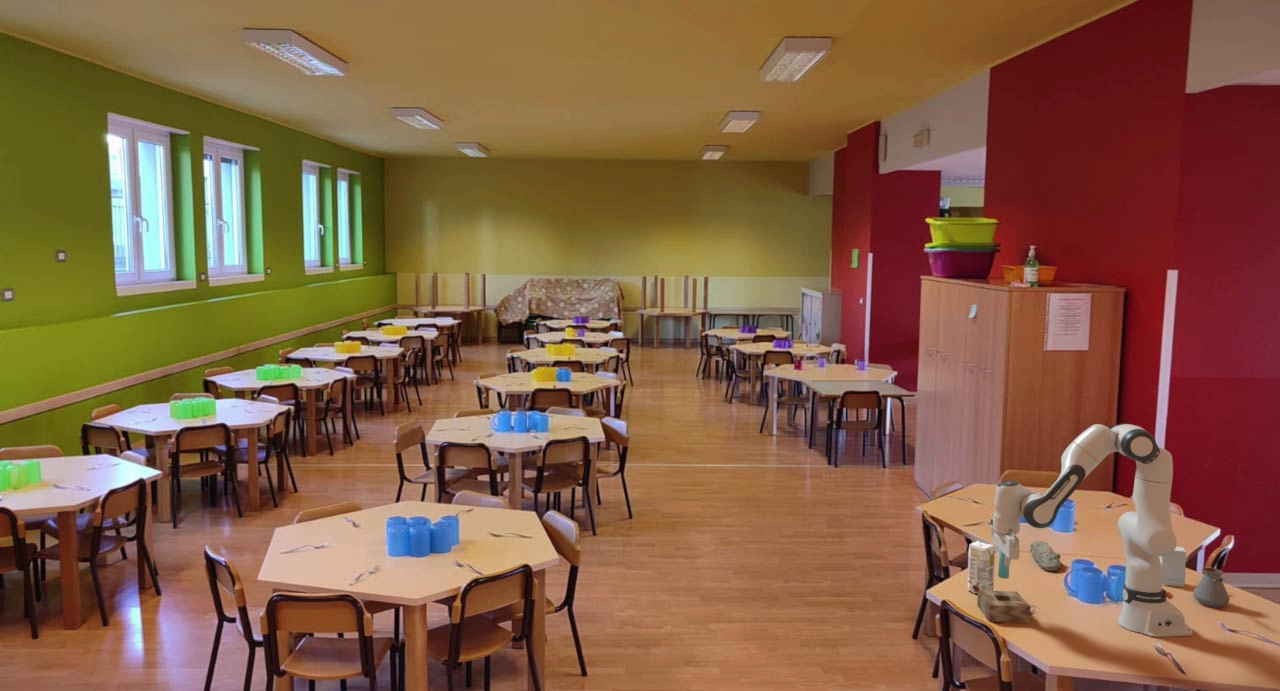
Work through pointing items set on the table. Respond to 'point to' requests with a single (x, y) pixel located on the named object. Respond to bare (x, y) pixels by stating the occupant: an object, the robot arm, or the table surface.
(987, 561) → the juice carton
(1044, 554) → the long grey stone
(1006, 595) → the socket block
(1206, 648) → the table surface
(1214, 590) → the coffee pot
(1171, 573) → the skincare box
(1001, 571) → the peg
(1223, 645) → the table surface
